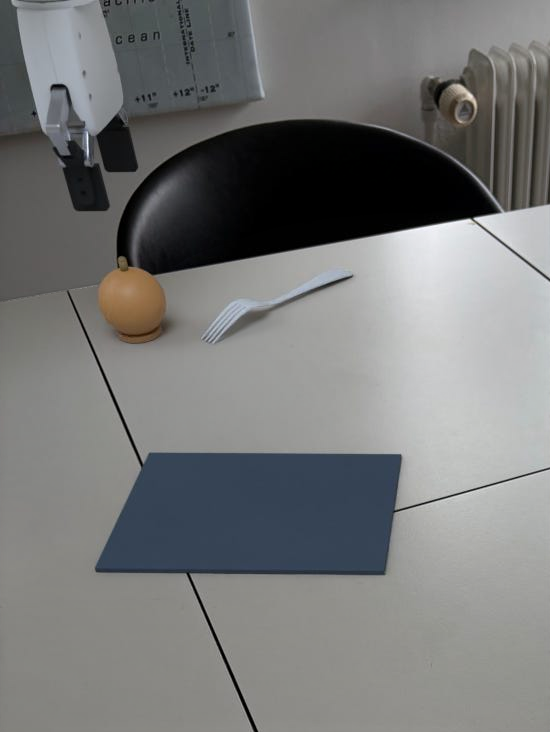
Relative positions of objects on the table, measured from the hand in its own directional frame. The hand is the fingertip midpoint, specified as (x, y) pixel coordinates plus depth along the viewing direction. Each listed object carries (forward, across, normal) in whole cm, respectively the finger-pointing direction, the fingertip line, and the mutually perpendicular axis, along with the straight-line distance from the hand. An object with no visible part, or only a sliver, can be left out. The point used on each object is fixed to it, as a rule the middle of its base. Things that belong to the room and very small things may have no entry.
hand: (108, 189), depth 98 cm
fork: (+15, -6, +13) cm, 21 cm away
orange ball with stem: (+14, 0, 0) cm, 14 cm away
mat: (+14, +32, +18) cm, 39 cm away
